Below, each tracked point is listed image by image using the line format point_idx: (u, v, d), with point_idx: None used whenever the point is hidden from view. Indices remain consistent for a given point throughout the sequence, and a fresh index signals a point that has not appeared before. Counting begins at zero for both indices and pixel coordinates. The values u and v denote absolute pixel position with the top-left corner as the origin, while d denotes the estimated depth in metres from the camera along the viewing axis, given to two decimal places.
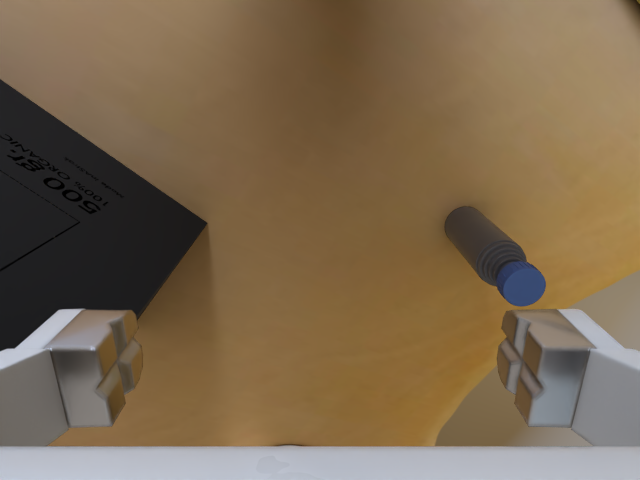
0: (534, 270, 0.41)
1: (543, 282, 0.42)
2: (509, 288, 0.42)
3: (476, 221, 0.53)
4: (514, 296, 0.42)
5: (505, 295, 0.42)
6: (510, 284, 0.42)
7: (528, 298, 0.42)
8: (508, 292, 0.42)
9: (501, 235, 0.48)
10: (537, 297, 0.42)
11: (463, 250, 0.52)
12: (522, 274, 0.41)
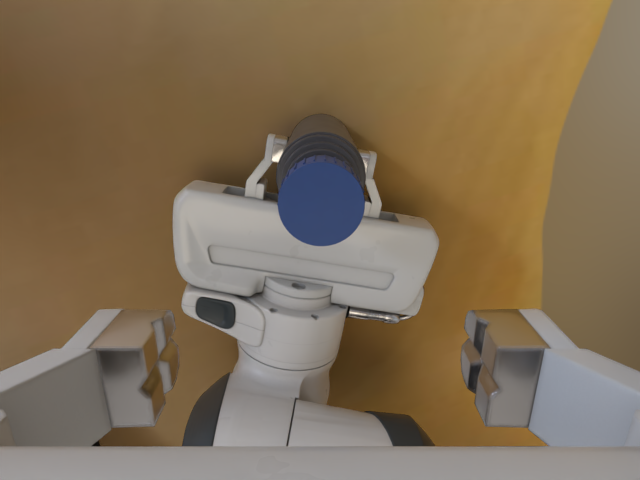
0: (304, 167, 0.20)
1: (340, 171, 0.20)
2: (300, 227, 0.20)
3: None
4: (322, 231, 0.21)
5: (307, 241, 0.21)
6: (294, 220, 0.20)
7: (347, 214, 0.20)
8: (305, 233, 0.21)
9: (295, 137, 0.26)
10: (358, 201, 0.20)
11: None
12: (293, 190, 0.20)
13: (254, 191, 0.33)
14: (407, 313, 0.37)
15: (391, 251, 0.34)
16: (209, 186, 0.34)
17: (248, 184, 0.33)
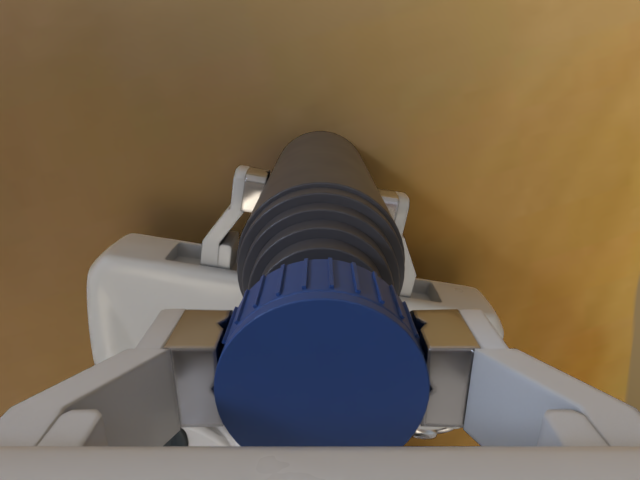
0: (278, 310, 0.08)
1: (370, 320, 0.08)
2: (270, 439, 0.08)
3: None
4: None
5: None
6: (255, 426, 0.08)
7: (385, 414, 0.08)
8: None
9: (273, 187, 0.14)
10: (415, 385, 0.08)
11: None
12: (251, 362, 0.08)
13: (216, 257, 0.21)
14: None
15: None
16: (147, 246, 0.22)
17: (206, 246, 0.21)
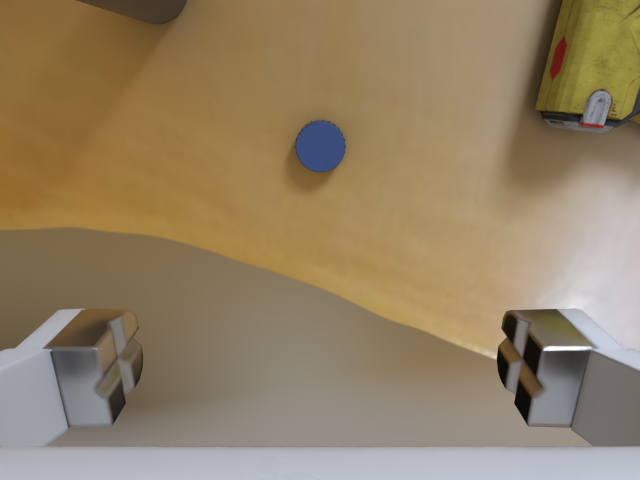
0: (302, 131, 0.35)
1: (321, 125, 0.35)
2: (315, 164, 0.36)
3: None
4: (327, 161, 0.36)
5: (322, 170, 0.36)
6: (310, 162, 0.36)
7: (335, 146, 0.36)
8: (319, 166, 0.36)
9: None
10: (338, 135, 0.35)
11: None
12: (302, 146, 0.36)
13: None
14: None
15: None
16: None
17: None
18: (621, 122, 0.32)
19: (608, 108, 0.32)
